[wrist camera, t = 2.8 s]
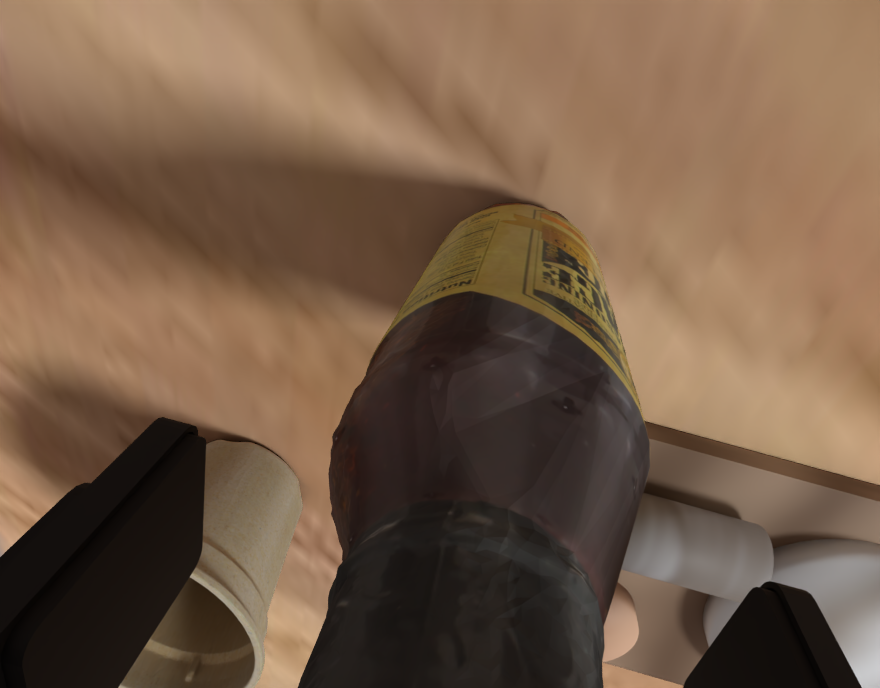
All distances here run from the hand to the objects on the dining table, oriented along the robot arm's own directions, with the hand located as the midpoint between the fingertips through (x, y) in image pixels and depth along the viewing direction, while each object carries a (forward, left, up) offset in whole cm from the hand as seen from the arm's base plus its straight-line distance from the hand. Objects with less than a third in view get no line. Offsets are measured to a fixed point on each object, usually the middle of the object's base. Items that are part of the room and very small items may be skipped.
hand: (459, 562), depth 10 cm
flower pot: (+10, +15, -15) cm, 23 cm away
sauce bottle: (0, 0, -14) cm, 14 cm away
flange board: (-14, +12, -14) cm, 23 cm away
